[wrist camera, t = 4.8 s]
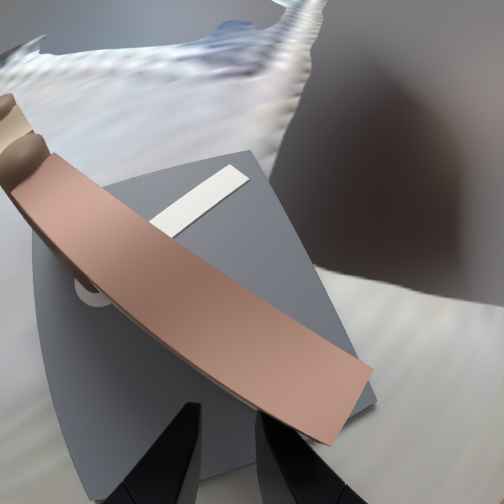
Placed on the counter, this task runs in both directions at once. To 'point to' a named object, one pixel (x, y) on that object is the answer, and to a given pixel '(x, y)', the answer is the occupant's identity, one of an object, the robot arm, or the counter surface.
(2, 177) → the fence gate
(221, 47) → the counter surface
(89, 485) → the board
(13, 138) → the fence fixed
